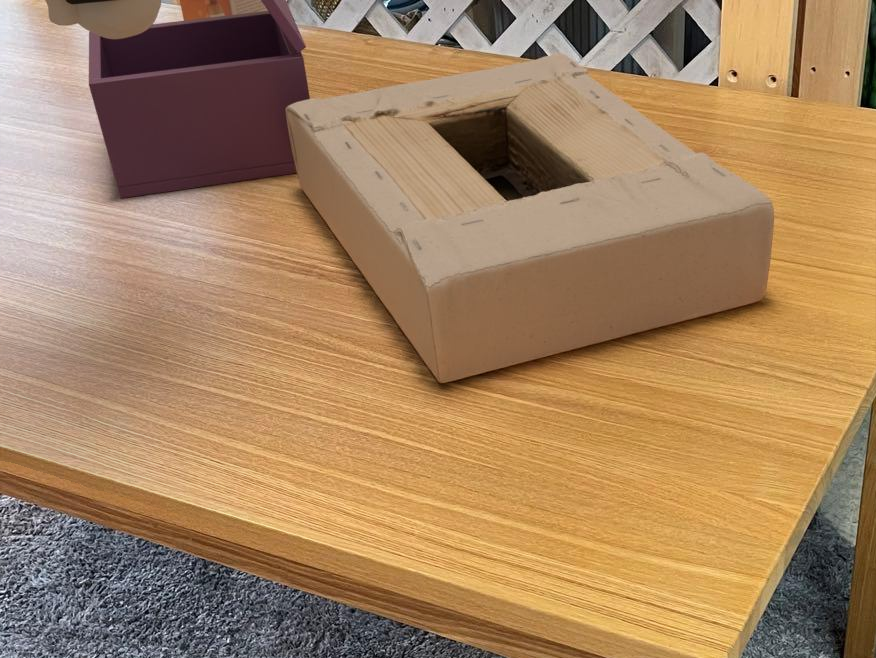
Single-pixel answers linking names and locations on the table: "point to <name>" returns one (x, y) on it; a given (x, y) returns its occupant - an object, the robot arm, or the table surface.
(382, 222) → the box
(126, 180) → the box
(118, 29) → the rubber duck
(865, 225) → the table surface
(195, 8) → the small box
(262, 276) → the table surface
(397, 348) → the table surface
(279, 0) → the lid
